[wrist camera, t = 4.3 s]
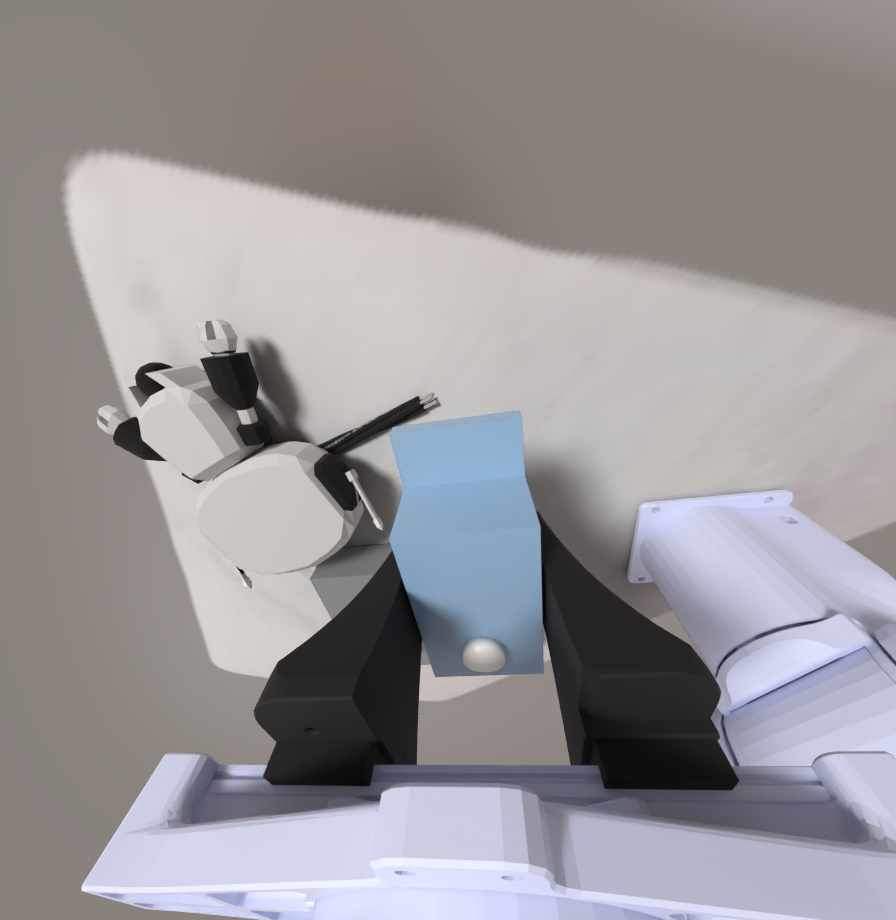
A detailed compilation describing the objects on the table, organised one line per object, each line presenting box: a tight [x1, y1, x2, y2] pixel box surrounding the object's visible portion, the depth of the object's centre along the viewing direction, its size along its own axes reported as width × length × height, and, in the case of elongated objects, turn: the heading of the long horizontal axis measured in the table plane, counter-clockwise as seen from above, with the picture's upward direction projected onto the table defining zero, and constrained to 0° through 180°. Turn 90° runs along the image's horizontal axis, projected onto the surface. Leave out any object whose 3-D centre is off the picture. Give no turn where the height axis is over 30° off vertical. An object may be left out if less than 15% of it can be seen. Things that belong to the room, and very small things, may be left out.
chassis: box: [310, 544, 431, 665], centre depth 27 cm, size 16×12×3 cm
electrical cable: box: [317, 392, 437, 455], centre depth 21 cm, size 12×1×1 cm, turn 117°
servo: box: [389, 411, 544, 677], centre depth 12 cm, size 4×11×6 cm, turn 9°
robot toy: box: [97, 320, 383, 589], centre depth 20 cm, size 12×4×15 cm
